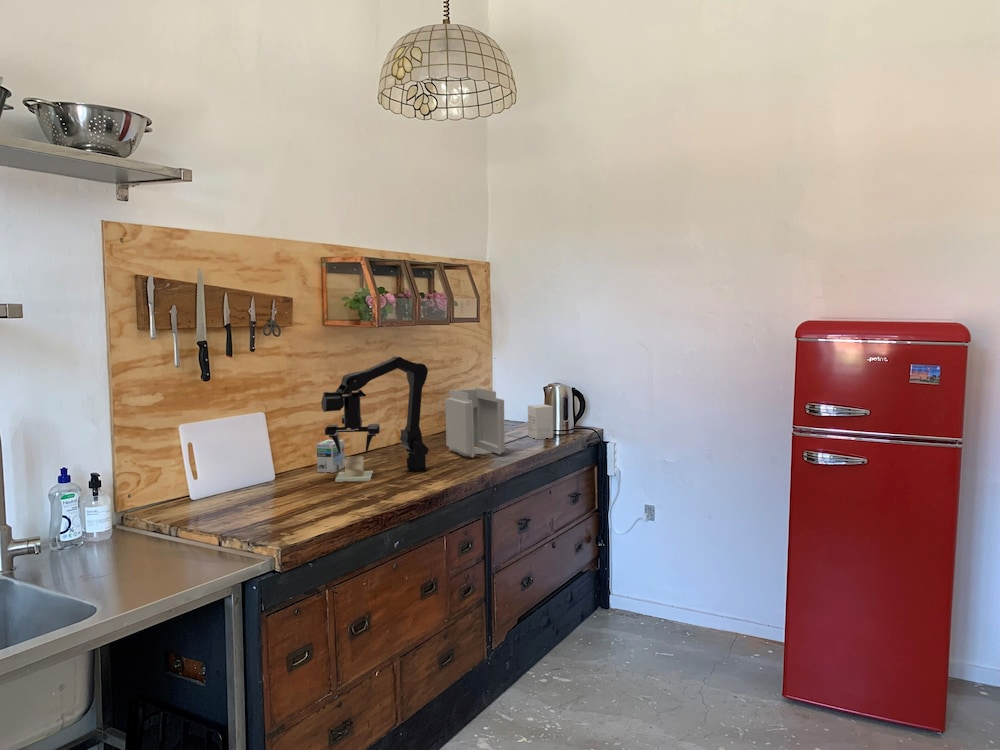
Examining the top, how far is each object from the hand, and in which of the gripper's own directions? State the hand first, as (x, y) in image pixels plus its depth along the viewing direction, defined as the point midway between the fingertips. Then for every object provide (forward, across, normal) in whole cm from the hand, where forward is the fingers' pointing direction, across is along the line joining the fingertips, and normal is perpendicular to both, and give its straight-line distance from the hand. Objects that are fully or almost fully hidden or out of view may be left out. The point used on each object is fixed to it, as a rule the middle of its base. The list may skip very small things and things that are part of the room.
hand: (353, 453), depth 260 cm
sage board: (+9, 0, 0) cm, 9 cm away
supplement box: (+9, -78, -73) cm, 107 cm away
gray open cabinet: (+9, -45, -39) cm, 60 cm away
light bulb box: (+9, +10, -15) cm, 20 cm away
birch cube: (+8, 0, 0) cm, 8 cm away
